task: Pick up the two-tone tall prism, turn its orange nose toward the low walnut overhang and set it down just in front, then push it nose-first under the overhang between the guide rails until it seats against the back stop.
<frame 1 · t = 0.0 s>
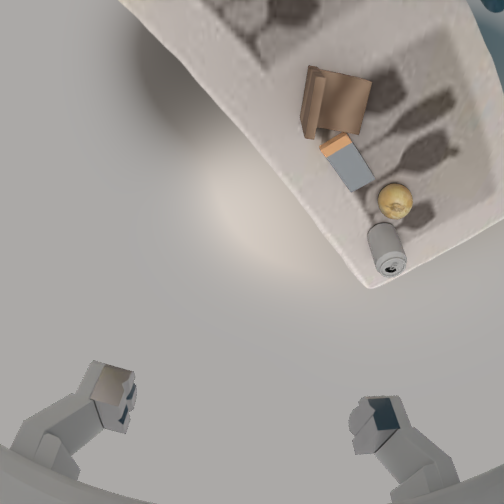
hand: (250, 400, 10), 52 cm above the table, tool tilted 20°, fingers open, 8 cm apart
onion: (391, 193, 63), on the table
two-tone tall prism: (347, 160, 59), on the table
shelf: (334, 96, 49), on the table
can: (380, 232, 71), on the table
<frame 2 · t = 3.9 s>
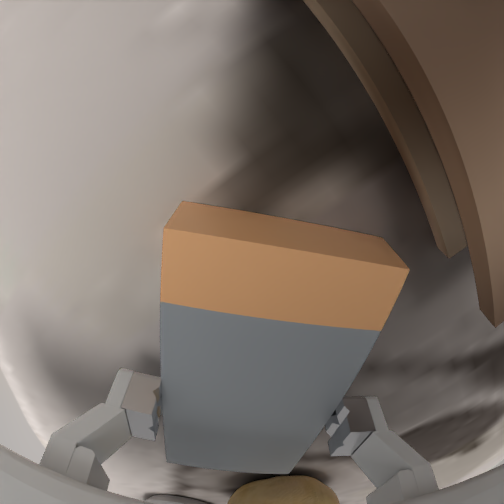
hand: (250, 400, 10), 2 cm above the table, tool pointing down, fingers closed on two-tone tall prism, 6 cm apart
onion: (280, 481, 18), on the table
two-tone tall prism: (250, 367, 11), on the table, touching gripper
shelf: (482, 54, 6), on the table
can: (182, 502, 21), on the table
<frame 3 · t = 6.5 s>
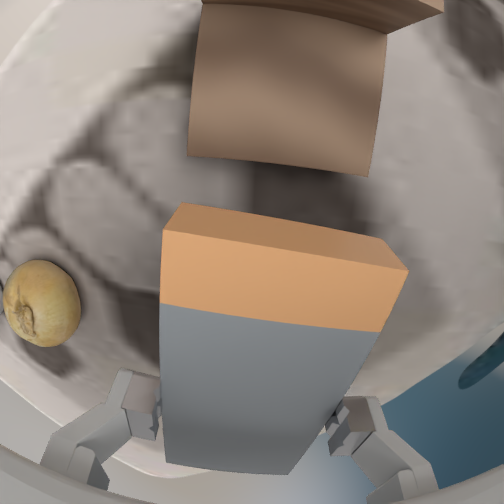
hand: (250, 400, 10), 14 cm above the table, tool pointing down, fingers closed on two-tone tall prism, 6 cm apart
onion: (56, 286, 25), on the table
two-tone tall prism: (249, 367, 11), point 13 cm above the table, touching gripper
shelf: (283, 82, 18), on the table
when the fingers open (3 cm above the table, at t = 9.2 s): two-tone tall prism drops 1 cm, on the table.
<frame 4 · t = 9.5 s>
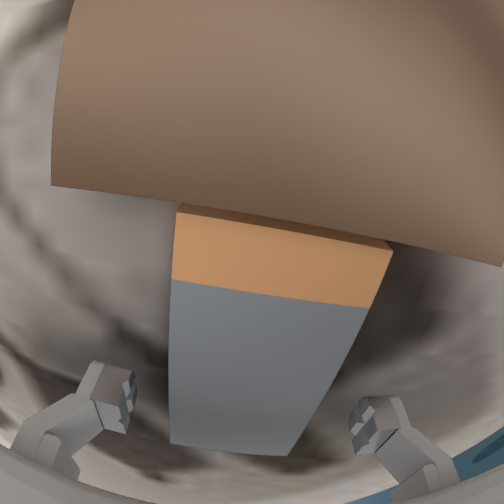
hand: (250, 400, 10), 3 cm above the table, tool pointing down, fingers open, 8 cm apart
two-tone tall prism: (250, 347, 12), on the table
shelf: (323, 21, 7), on the table
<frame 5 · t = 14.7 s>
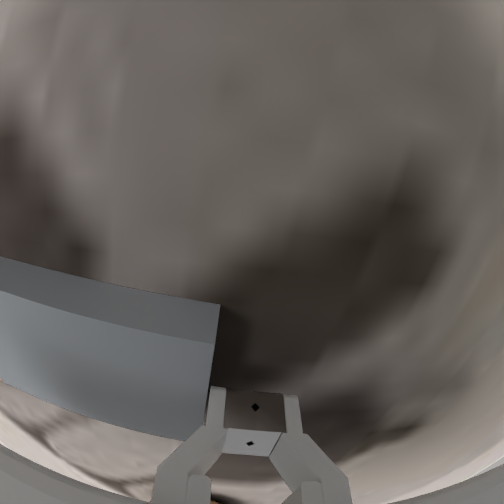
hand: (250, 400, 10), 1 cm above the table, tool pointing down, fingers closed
two-tone tall prism: (69, 332, 11), on the table, touching gripper
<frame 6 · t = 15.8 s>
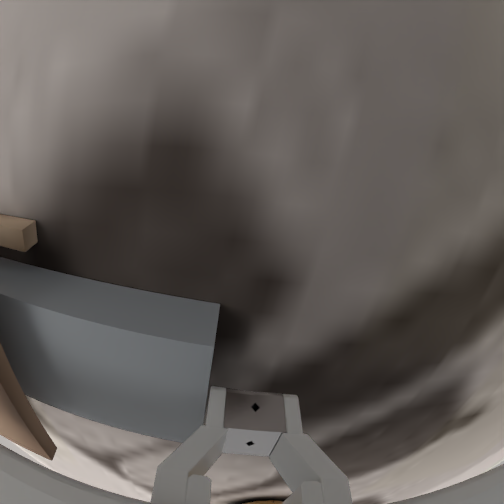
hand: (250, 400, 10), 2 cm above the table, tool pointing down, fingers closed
onion: (264, 503, 20), on the table
two-tone tall prism: (68, 334, 11), on the table, touching gripper
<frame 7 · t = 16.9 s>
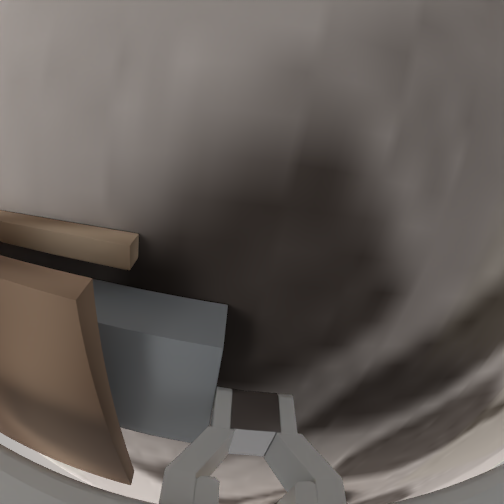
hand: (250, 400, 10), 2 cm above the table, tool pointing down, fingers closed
two-tone tall prism: (73, 334, 11), on the table, touching gripper, shelf
shelf: (35, 319, 10), on the table
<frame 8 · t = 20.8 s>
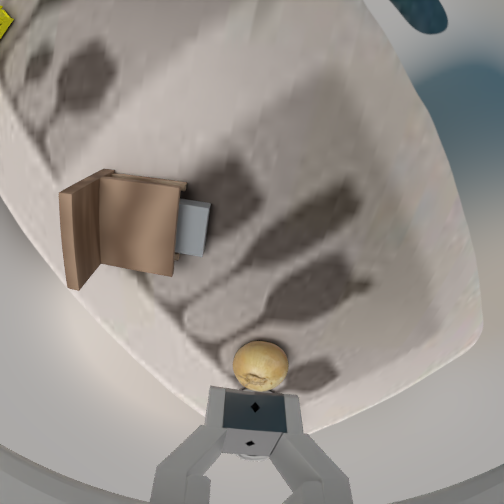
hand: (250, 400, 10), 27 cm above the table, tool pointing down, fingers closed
onion: (260, 351, 45), on the table
two-tone tall prism: (158, 218, 36), on the table
shelf: (142, 215, 35), on the table
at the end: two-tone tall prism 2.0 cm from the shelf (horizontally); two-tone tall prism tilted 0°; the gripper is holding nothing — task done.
